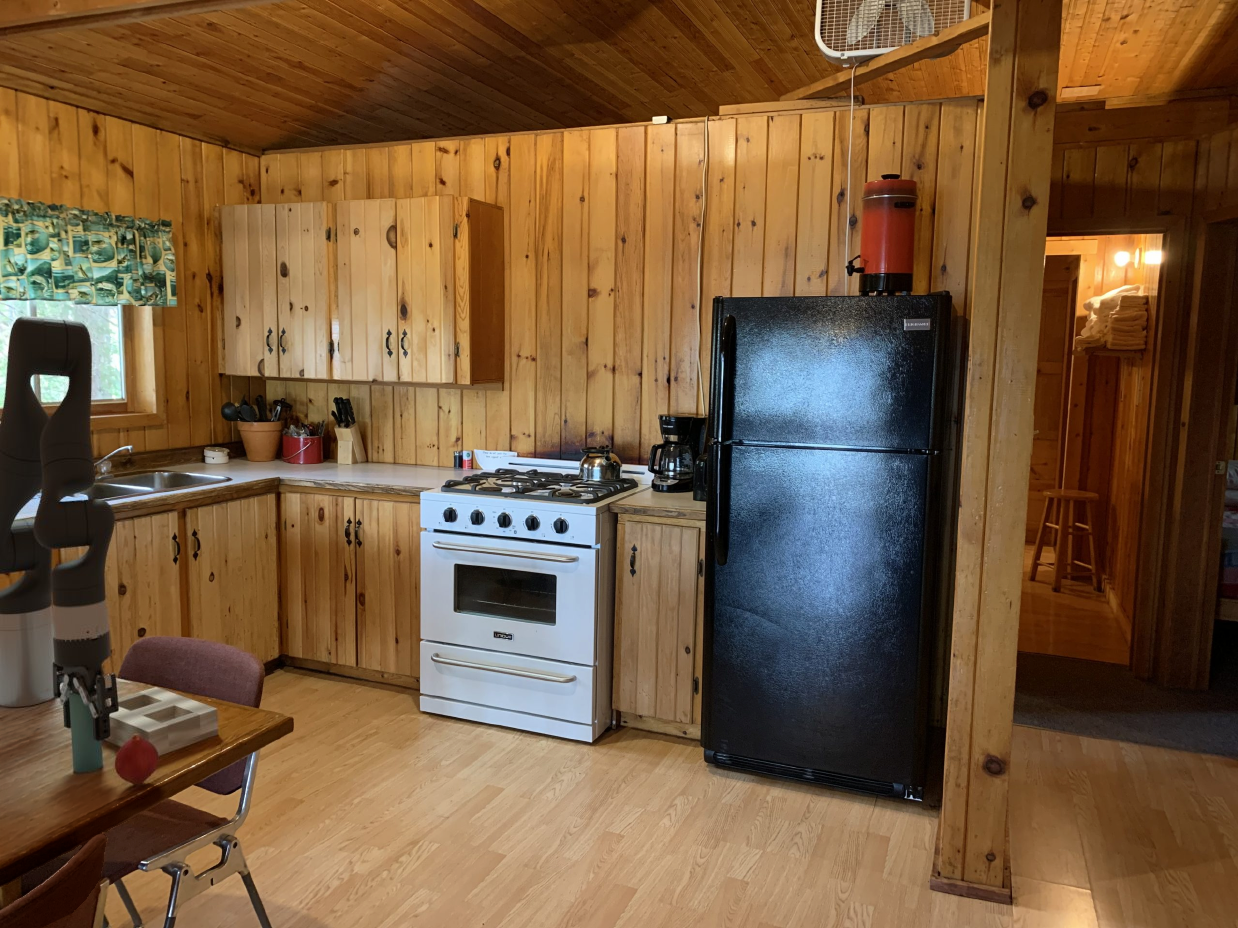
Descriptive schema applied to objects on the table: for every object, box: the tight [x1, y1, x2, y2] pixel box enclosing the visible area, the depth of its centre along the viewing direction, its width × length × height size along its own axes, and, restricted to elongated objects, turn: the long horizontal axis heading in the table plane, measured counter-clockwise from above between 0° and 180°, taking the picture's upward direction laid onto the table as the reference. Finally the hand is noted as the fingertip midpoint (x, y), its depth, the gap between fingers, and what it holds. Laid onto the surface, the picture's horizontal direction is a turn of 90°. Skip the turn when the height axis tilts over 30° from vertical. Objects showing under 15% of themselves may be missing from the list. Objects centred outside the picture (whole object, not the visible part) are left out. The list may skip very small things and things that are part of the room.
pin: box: [69, 692, 104, 774], centre depth 146 cm, size 4×4×12 cm
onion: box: [114, 734, 160, 787], centre depth 140 cm, size 6×6×8 cm
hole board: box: [104, 686, 219, 757], centre depth 159 cm, size 18×12×4 cm, turn 57°
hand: (87, 732), depth 146 cm, fingers open, 8 cm apart
